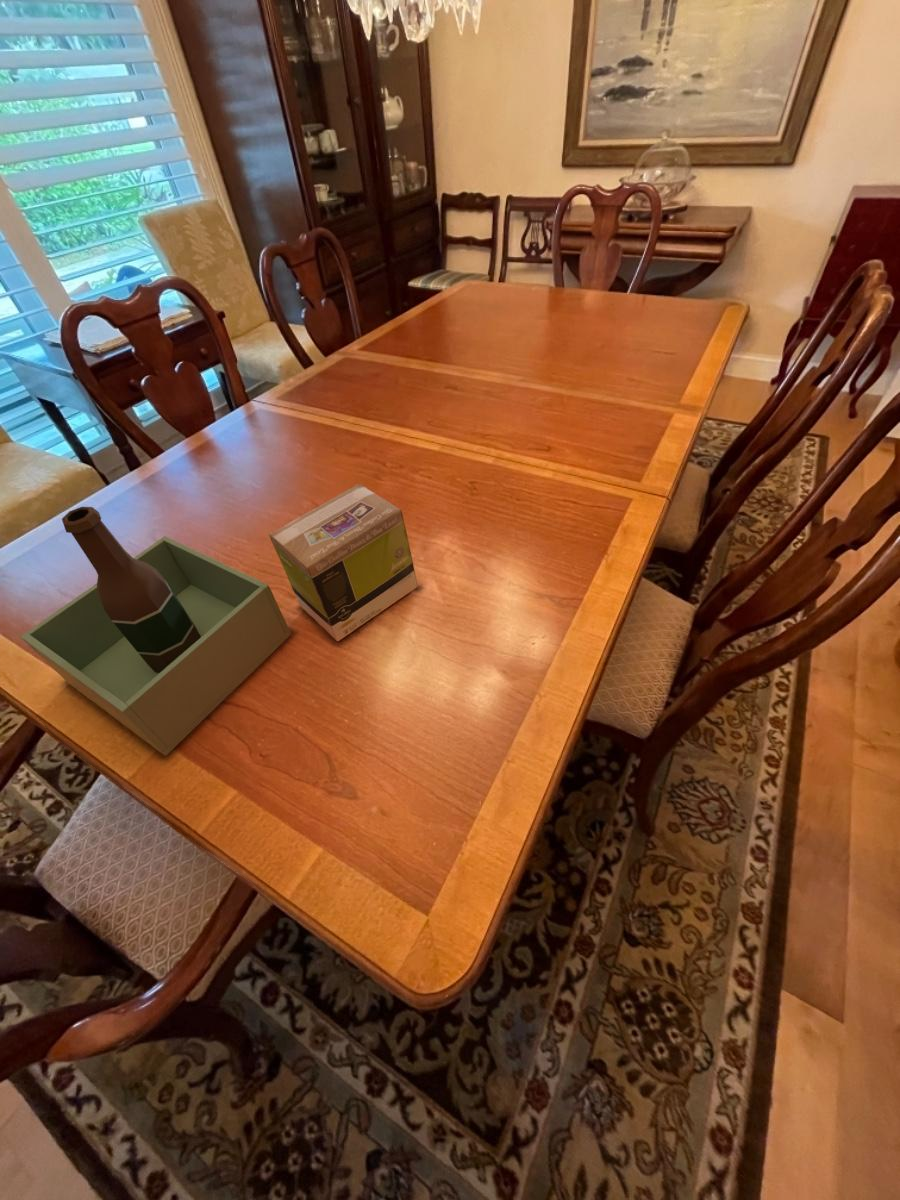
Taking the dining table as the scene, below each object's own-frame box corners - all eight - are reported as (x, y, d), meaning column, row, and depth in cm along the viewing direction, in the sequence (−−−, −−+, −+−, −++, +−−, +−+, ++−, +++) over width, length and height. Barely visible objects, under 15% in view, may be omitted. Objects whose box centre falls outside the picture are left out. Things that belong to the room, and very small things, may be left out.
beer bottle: (174, 685, 70) (63, 546, 53) (137, 663, 73) (22, 525, 56) (219, 644, 74) (130, 503, 57) (183, 625, 77) (89, 485, 60)
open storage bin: (165, 756, 64) (122, 711, 57) (68, 683, 73) (19, 636, 66) (291, 634, 76) (268, 584, 69) (194, 584, 85) (165, 535, 78)
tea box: (379, 558, 86) (360, 479, 75) (419, 588, 80) (405, 508, 69) (299, 608, 79) (266, 530, 69) (336, 645, 74) (307, 567, 63)
